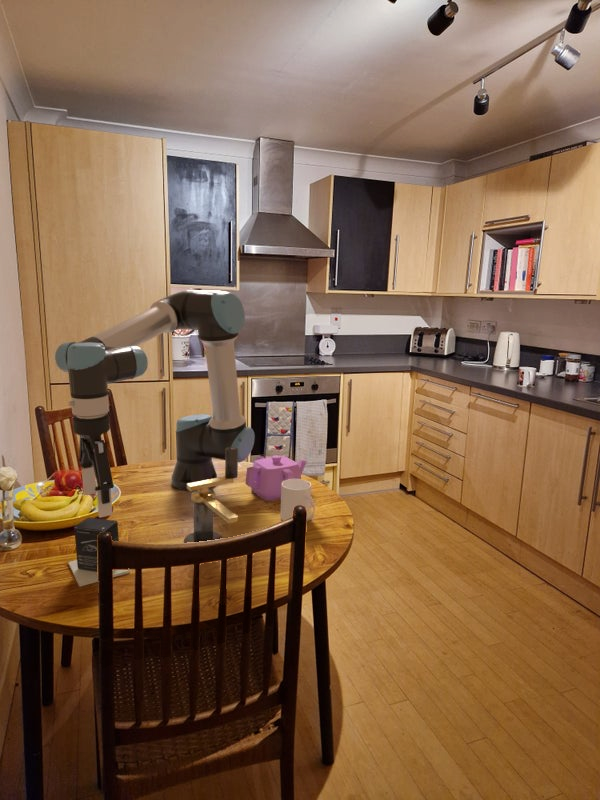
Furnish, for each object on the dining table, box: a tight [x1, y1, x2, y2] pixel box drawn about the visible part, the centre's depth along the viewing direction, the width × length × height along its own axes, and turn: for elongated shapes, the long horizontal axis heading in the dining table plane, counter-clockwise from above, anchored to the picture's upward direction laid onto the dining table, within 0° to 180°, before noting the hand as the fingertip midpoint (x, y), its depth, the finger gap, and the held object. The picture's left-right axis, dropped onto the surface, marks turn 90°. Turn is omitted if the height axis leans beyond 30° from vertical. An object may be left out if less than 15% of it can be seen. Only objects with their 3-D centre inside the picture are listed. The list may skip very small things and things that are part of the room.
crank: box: [187, 447, 239, 524], centre depth 127 cm, size 14×19×12 cm
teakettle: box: [245, 455, 307, 502], centre depth 168 cm, size 17×17×12 cm
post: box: [183, 501, 224, 544], centre depth 133 cm, size 10×10×12 cm
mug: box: [280, 478, 316, 522], centre depth 148 cm, size 9×12×11 cm
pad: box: [68, 559, 131, 588], centre depth 120 cm, size 11×11×1 cm
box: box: [73, 517, 120, 571], centre depth 119 cm, size 8×6×11 cm
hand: (97, 504), depth 118 cm, fingers open, 13 cm apart
